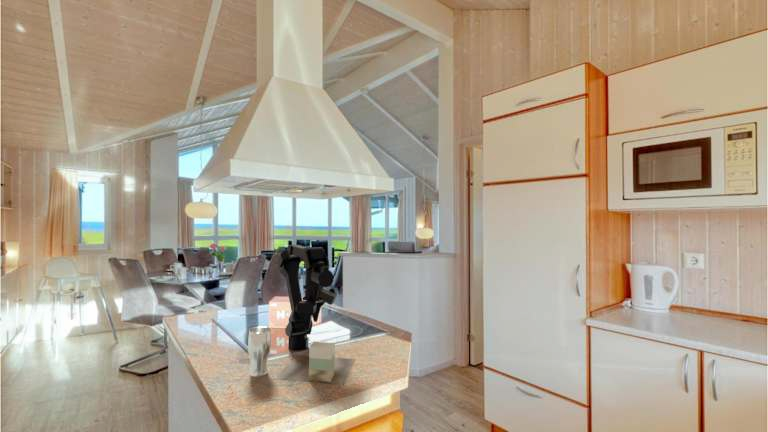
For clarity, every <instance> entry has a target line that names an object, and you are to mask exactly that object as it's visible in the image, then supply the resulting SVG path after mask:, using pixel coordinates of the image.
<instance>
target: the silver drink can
mask: <svg viewBox="0 0 768 432" xmlns="http://www.w3.org/2000/svg"><path fill="white" fill-rule="evenodd" d="M271 336H272V335H271V328H270V327H269V326H256V327H255V326H254V327H251V328H249V329H248V339H247V341H248V342H247V351H248V357H249V369H248V370H249V371H248V375H249V377H252V378H253V377H254V378H256V377H257V378H258V377H263V376H265V375H267V374H268V372H269V371H268V360H269V354H270V349H271V345H272V344H271V341H272V338H271Z"/></svg>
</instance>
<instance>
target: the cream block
mask: <svg viewBox="0 0 768 432" xmlns="http://www.w3.org/2000/svg"><path fill="white" fill-rule="evenodd" d="M335 348H336V343H335V342H323V341H322V342H321V341H313V342H312V343H311V345H309V350H308V351H309V354H308V356H309V358H317V359H330V360H331V359H332V357H333V356H334V354H335Z"/></svg>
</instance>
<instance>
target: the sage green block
mask: <svg viewBox="0 0 768 432" xmlns="http://www.w3.org/2000/svg"><path fill="white" fill-rule="evenodd" d="M334 358H336V357H335V353H334V356H333V357H332V359H331V360H330V359H317V358H309V369H312V370H325V371H331V370H332V368H333V366H334Z"/></svg>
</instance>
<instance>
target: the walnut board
mask: <svg viewBox="0 0 768 432" xmlns="http://www.w3.org/2000/svg"><path fill="white" fill-rule="evenodd" d="M355 362H356V359H355V358H343V357H334V376H333V378H332V380H331V382H325V381H314V380H309V354H308V355H305V354H296V355H295V356H294V357H293V358H292V359H291V360H290V362H288V364H287V365H286V366H285V367H284V368H283V369H282V370H281V371H280V373H279V374H278V375H277V376H276V377H275V378H274V380H277V381H278V380H279V381H289V382H299V383H300V382H302V383H315V384H327V385H335V386H336V385H338V386H339V385H340V386H344V385H345V383H346V381H347V378H348V376H349V375H350V373H351V370H352V369H353V368H352V367H353V365H354V363H355Z"/></svg>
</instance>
